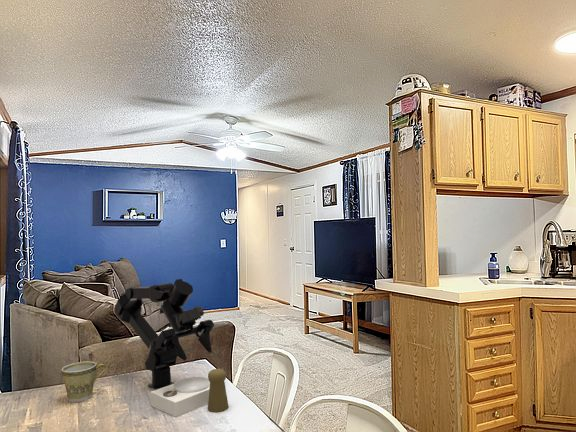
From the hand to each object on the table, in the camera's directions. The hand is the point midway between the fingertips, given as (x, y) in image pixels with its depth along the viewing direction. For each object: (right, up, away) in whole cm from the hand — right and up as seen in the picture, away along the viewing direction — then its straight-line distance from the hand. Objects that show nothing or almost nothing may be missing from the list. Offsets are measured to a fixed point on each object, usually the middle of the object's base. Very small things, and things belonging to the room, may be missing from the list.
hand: (198, 355), depth 133 cm
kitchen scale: (-4, -14, 0) cm, 14 cm away
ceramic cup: (-37, -15, +7) cm, 41 cm away
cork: (+7, -14, -6) cm, 16 cm away
